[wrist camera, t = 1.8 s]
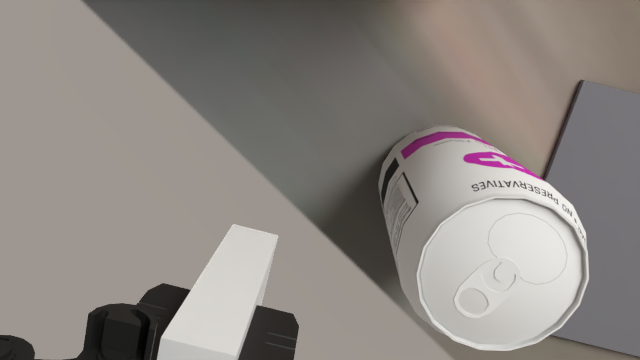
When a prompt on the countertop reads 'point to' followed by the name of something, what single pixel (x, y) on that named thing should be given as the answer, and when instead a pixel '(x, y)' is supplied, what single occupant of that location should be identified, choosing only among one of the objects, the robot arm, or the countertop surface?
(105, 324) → the robot arm
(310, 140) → the countertop surface
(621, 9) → the countertop surface
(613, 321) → the mat
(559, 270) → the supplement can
